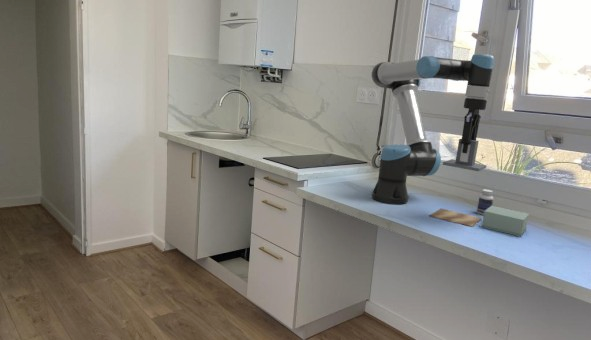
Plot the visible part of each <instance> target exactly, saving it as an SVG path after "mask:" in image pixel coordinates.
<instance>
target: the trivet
mask: <svg viewBox="0 0 591 340" xmlns="http://www.w3.org/2000/svg"><path fill="white" fill-rule="evenodd" d="M429 217H431V218H435V219H439V220H441V221H447V222H451V223H453V224H454V223H455V224H457V225H458V224H459V225H463V226H466V227H467V226H468V227H471V228H473V227H474V226H475V225H476V224H478V223H479V222H480V221H482V220H483V217H479V216H475V215H471V214H466V213H462V212H458V211H454V210H449V209H445V208H440V209H437V210H436V211H434V212H433V213H430V214H429Z"/></svg>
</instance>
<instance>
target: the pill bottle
mask: <svg viewBox="0 0 591 340" xmlns="http://www.w3.org/2000/svg"><path fill="white" fill-rule="evenodd" d="M493 192H494V190H491V189H485V188H484V189H482V190H481V194H479V196H478V202H477V207H476V213H477V214H479V215H482V216H484V211H485V210H487V209H488V208H489V207H490V206H494V205H493V203H494V196H493V194H494V193H493Z"/></svg>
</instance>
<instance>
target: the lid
mask: <svg viewBox="0 0 591 340" xmlns="http://www.w3.org/2000/svg"><path fill="white" fill-rule="evenodd" d="M461 140H462V138H458V145H457V151H456V154H455V155H456V157H455V159H453V158H452V159H449V160H445V161H443V162H442V165H443V166H448V167H453V168H459V169H463V170H468V171H475V172H481V171H482V170H484V169H487V164H481V163H476V158H477V154H478V148H479V146H478V145H479V140H477V139H476V140H471V141H470V151H469V157H468V162H462V161H460V156H461V150H462V144H460V142H461Z"/></svg>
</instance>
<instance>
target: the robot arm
mask: <svg viewBox="0 0 591 340" xmlns="http://www.w3.org/2000/svg"><path fill="white" fill-rule="evenodd" d="M494 61H495V58H494V56H493V55H491V54H483V53H481V54H480V53H479V54H478V53H475V54H473V55H472V56H471V59H470V60H464V59H463V60H461V59H455V58H454V59H453V58H443V57H439V56H438V57H435V56H432V55H431V56H429V55H428V56H427V55H426V56H422V57H421V58H419V59H413V60H407V61H401V62H390V61H383V62H379V63H377V64H376V65H375V66H374V67H373V68H372V70H371V79H372V82H373V84H375V85H376V86H378V87H380V88H383V89H391V92H392V96H393V97H395V98H396V99H397V100H396V101H397V104H398V109H399V114H400V119H401V122H402V128H403V132H404V137H405V141H406V144H389V145H388V144H387V145H386V146H384V147H382V150H381V155H380V161H379V162H380V163H379V169H378V170H379V172H378V176H377V177H378V178H377V181H376V183H375V186H374V188H373V189H372V192H371V193H372V194H371V198H372V199H373V200H375V201H377V202H380V203H384V204H388V205H389V204H391V205H403V204H407V203H408V201H409V194H408V189H407V178H408V177H417V176H418V177H427V176H433V175H434V174H436V173H437V172H438V171H439V169H440V167H441V163H442V158H441V154H440V152H439V151H438V150H437V149H436V148H433V144H432V142H431V141H429V140H428V139H427V136H426V131H425V128H424V127H425V126H424V123H423V122H424V121H423V118H422V114H421V109H420V106H419V100H418V97H417V92H418V90H419V87H420V86H421V80H423V79H426V80H427V79H428V80H429V79H441V80H450V81H455V82H456V81H457V82H459V81H463V82H467V85H466V90H465V97H466V98H465V99H464V103H463V108H464V109H467V110H468V112H467V113H466V115H464V120H463V121H464V122H463V127H462V135H461V139H462V140H461V142H460V144H462V150H461V156H460V161H462V162H468V157H469V151H470V141H471V140H476V141H477V137H478V136H477V135H478V131H479V125H480V121H481V117H482V116H481V115H480V111H485V110H486V109H487V103H488V101H487V98H488V95H489V93H491V90H490V84H491V79H492V74H493V69H494Z"/></svg>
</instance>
